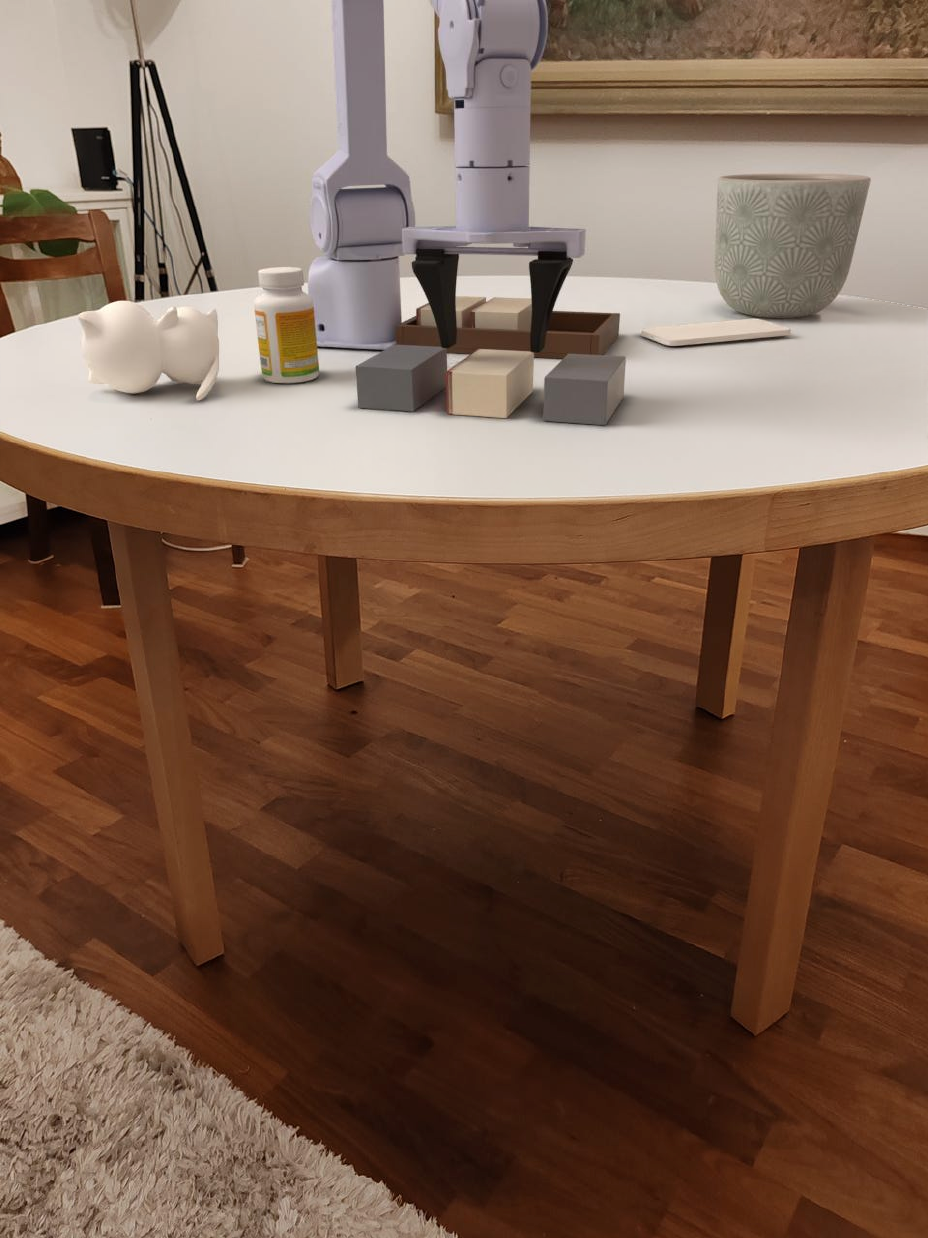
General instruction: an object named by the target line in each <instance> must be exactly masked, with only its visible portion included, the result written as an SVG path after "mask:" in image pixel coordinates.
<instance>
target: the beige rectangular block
mask: <svg viewBox="0 0 928 1238" xmlns="http://www.w3.org/2000/svg"><path fill="white" fill-rule="evenodd" d="M534 365H535V357H534V352H528V351H509V350H490V349H477V350H476V351H475V352H473V353H472V354H468V355H467V356H466V357H464V358H463V359H462V360H460V361H458V363H456V364H454V365H453V366H452V367H450V368H448V369H447V371H446V388H445V389H446V414H447V415H456V416H469V417H485V418H496V419H497V418H499V419H507V418H508V417H509V416H510V415H511V414H512V413H513V412H515V410H516V409H518V407H519V406H520V405H521V404H522V403H523V402H524V401H525V400H526V399H527V398H528V397H529V396H530V395H531V394H532V393H533V392H534V367H535V366H534Z"/></svg>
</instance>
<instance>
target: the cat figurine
mask: <svg viewBox="0 0 928 1238" xmlns="http://www.w3.org/2000/svg"><path fill="white" fill-rule="evenodd" d="M218 319H219V317H218V312H217V309H216V308H212V309H211V310H210V311H208V312H207V313H205V312H202V311H200V310H199V309H197V308H194V307H192V306H180V307H176V306H171V307H170V308H168V309H167V310H166V311H165V312H164V313H163V315H162V316H160V317H159V318H158V319H157V320H156V319H155V318H154V316H153V315H152V314H151V313H150V312H149V311H148V310H147V309H146V308H145V307H143V306H141V305H140V304H139V303H136V302H133V301H129V300H116V301H113V302H110V303H107V304H106V305H104V306H102V307H101V308H100V309H98V310H86V311H82V312H81V313H79V314H78V320H79V322H80V325H81V327H82V330H83V331H82V334H81V335H82V336H81V339H80V340H81V341H80V348H81V353H82V357H83V359H84V362H85V363H86V365H87V367H88V382H90V383H91V384H96V385H106V386H108V387H110V388H112V389H113V390H116V391H119V392H122V393H124V394H132V395H133V394H141V393H145V392H147V391H149V390H150V389H152V388H153V387H154V385H156V384H157V382H158V381H159V379H160V378H161V375H162V374H164V375H165V376H166V377H167V378H168V379H169V380H171V381H172V382H173V383H176V384H180V383H181V382H182V383H185V384H189V385H196V384H200V383H201V385H200V386H199V389H198V390H197V393H196V395H195V398H196V401H202V400H203V399H204V398H205V397H206V396H207V395H208V393H209V392H210V391H211V389H212V388H213V386H214V385H215V382H216V381H217V377H218V374H219V371H220V340H219V320H218Z"/></svg>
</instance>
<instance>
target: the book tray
mask: <svg viewBox="0 0 928 1238" xmlns="http://www.w3.org/2000/svg"><path fill="white" fill-rule="evenodd" d="M620 323H621V313H620V312H613V313H612V312H598V311H597V312H593V311H569V310H553V311H552V314H551V318H550V321H549V325H548V329H547V334H546V340H545V347H544V349H543V350H542V351H540V352H539V353H534V358H540V359H541V358H542V359H543V358H544V359H561V360H563V359H564V358H565V357H566V356H567V355H568V354H587V355H604V354H605V353H606V352H607V351H608V349H609V348H610V347H611V346H612V345H613V344H614V342H616V340H617V339H618V338H619V337H620ZM530 333H531V330H508V329H486V328H464V327H457V339H456V344H455V345H453V346H452V347H450V348H447V354H449V353H451V354H464V355H465V354H467V355H470V354H472V353H473V352H475V351H476V350H477V349H490V350H509V351H528V352H531V350H530ZM396 345H413V346H433V347H441V343H440V338H439V334H438V329H437V326H420V325H417V321H416V315H414V316H412V317H410V318H408V319H406V320H405V321H402V323H400V324H398V325H396Z"/></svg>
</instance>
